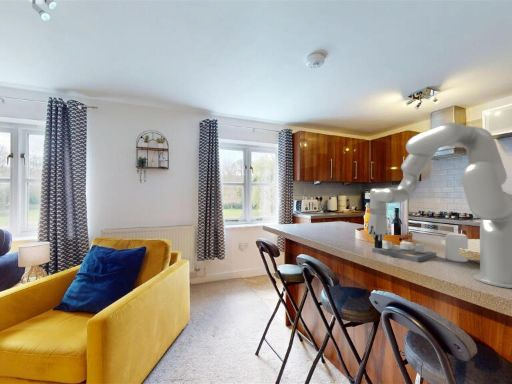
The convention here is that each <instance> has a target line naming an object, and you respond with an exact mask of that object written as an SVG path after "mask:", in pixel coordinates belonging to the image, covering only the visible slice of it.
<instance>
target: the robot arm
mask: <svg viewBox="0 0 512 384" xmlns="http://www.w3.org/2000/svg"><path fill="white" fill-rule="evenodd" d="M447 146H448V147H452V148H453V147H454V148H464V149H465V151H466V159H467V161H468V165H467V166H466V167H465V168H463V170H462V172H461V182H462V186H463V187H462V188H463V190H464V193H465V197H466V201H467V204H468V208H469V210H470V212H471V213H472V214H473V216H475V217H476V218H478V219H480V224H479V272H476V273H474V279H475V280H478V281H479V282H482V283H484V284H488V285H491V286H495V287H499V288H506V289H507V288H508V289H512V194H510V193H508V192H504V189H503V187H502V186H503V185H504V184H505V183H506V181H507V180H508V179H507V178H508V175H507V171H506V168H505V166H504V163H503V160H502V157H501V153H500V151H499V149H498V146H497V143H496V140H495V138H494V136H493V134H492V133H491V132H490V131H488V130H487V129H485V128H482V127H479V126H478V127H477V126H469V125H466V124H460V123H457V122H445V123H443V124H440V125H437V126H435V127H433V128H430V129H428V130H425V131H423V132H420V133H418V134H415V135H414V136H411V138H409V140H408V141H407V143H406V145H405V149H406V151H407V152H406V153H408V155H407V156H406V158H405V159H404V161H403V162H402V164H401V166H400V169H401V171H402V172H403V178H402V180H401V182H400V183H399V185H398V186H397V187H385V188H382V187H375V188H371V189H370V191H369V217H368V223H367V225H368V226H367V233H368V234H369V235H370V237H371V238H373V241H374V248H379V249H381V248H382V240H384V237H385V236H386V234H387V233H388V220H387V219H388V218H387V204H395V203H396V204H397V203H398V204H399V203H404V202H405V201H407V200H408V199H409V198H410V197H411V195H412V194H413V193H414V191H416V188H417V186H418V183H419V181H420V175H421V174H422V173H423V171H424V170H425V168H426V167H427V165H428V164H429V162H430V161H431V160H432V159H433V157H434V156H435V155H436V154H437V152H438V150H439V149H440V148H444V147H447Z"/></svg>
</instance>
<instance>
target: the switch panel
mask: <svg viewBox="0 0 512 384" xmlns="http://www.w3.org/2000/svg"><path fill="white" fill-rule="evenodd" d="M371 249H372V250H371V252H372V253H376V254H380V255H384V256H388V257H393V258H398V259H402V260H406V261H411V262H415V263H420V262H422V261H425V260H430V259H433V258H435V257H437V252H436V251H430V250H429V252H427V253H422V252H416V251H415V247H413V249H412V250H406V249H401V248H400V244H393V243H392V248H391V249H384V248H381V249H379V248H375V247H372V248H371Z"/></svg>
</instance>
